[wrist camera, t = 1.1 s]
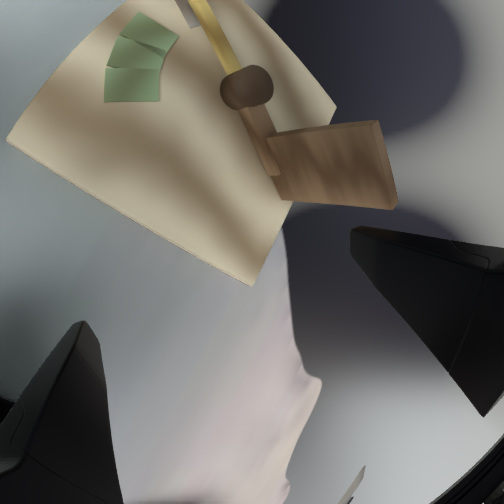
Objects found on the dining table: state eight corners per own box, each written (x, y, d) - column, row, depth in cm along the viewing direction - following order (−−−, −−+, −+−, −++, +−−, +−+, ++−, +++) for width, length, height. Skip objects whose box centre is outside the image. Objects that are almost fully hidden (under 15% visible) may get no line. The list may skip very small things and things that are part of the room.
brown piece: (173, 5, 15) (265, -72, 8) (205, -2, 17) (299, -66, 9) (273, 206, 24) (386, 219, 17) (295, 187, 26) (403, 193, 18)
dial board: (244, 283, 25) (253, 287, 25) (7, 142, 12) (5, 138, 11) (329, 108, 29) (338, 106, 28) (184, -38, 16) (191, -45, 15)
